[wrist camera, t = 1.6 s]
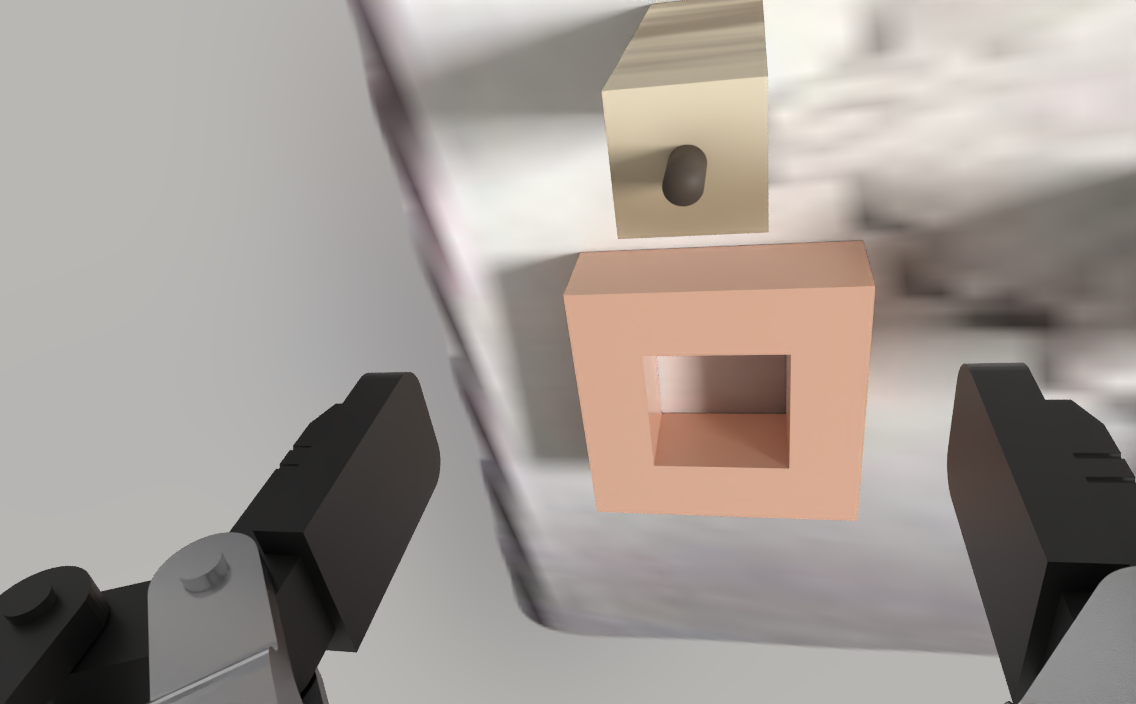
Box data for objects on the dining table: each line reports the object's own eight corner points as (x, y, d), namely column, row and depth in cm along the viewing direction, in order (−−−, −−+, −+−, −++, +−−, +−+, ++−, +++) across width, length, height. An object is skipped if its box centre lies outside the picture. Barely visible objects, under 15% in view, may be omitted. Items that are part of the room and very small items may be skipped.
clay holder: (580, 252, 36) (563, 295, 32) (862, 240, 33) (875, 286, 30) (609, 458, 42) (597, 511, 39) (848, 462, 39) (857, 520, 36)
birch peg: (651, 4, 29) (590, 109, 18) (761, -9, 29) (769, 95, 17) (659, 111, 32) (609, 265, 20) (762, 103, 31) (769, 258, 20)
